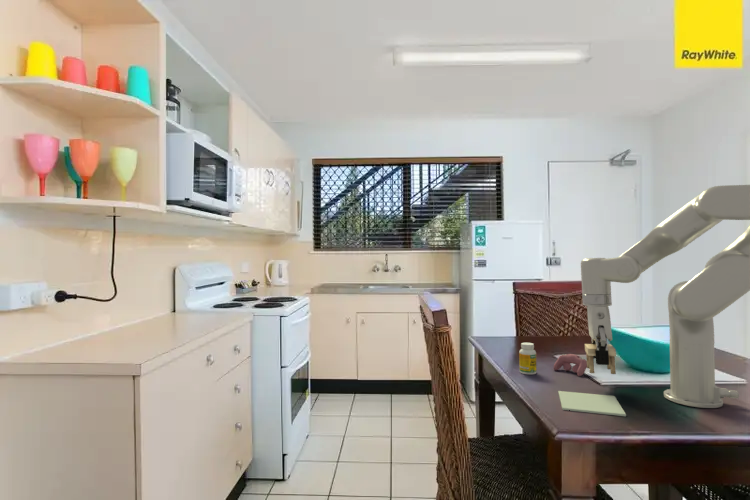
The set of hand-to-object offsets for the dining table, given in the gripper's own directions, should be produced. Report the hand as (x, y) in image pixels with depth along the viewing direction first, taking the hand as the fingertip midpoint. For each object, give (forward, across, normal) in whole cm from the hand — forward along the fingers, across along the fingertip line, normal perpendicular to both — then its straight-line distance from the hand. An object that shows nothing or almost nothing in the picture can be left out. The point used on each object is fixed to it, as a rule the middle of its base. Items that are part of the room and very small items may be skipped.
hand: (600, 360), depth 123 cm
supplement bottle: (+7, +11, +20) cm, 24 cm away
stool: (+3, 0, 0) cm, 3 cm away
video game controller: (+8, +16, +7) cm, 19 cm away
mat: (+8, -15, +5) cm, 18 cm away
